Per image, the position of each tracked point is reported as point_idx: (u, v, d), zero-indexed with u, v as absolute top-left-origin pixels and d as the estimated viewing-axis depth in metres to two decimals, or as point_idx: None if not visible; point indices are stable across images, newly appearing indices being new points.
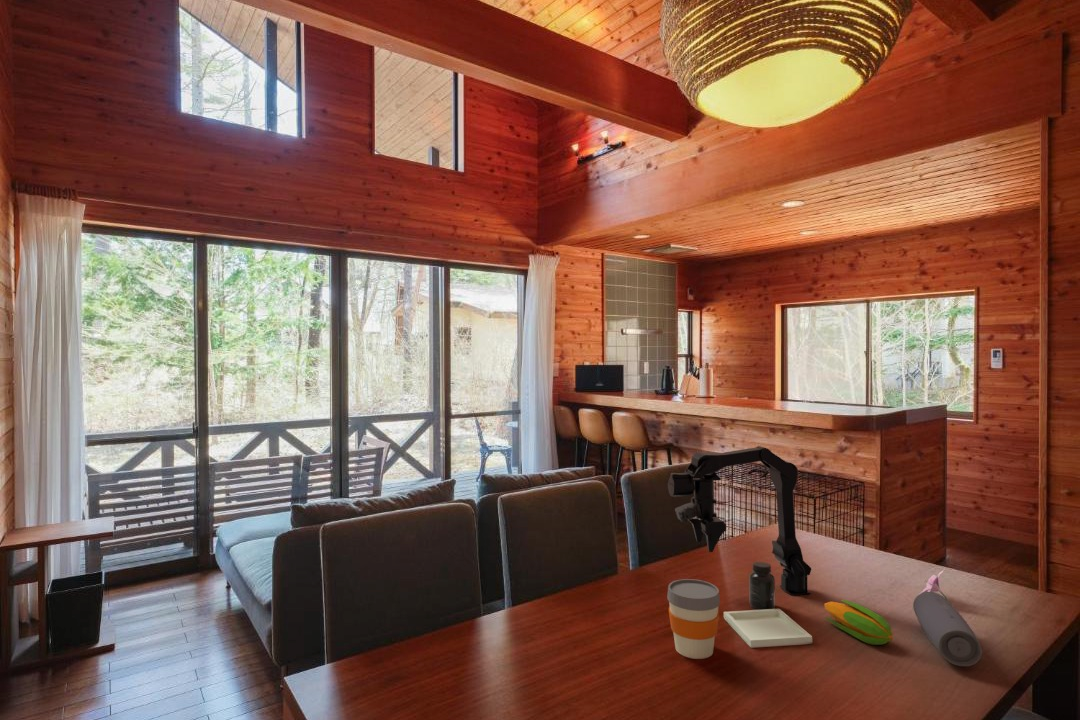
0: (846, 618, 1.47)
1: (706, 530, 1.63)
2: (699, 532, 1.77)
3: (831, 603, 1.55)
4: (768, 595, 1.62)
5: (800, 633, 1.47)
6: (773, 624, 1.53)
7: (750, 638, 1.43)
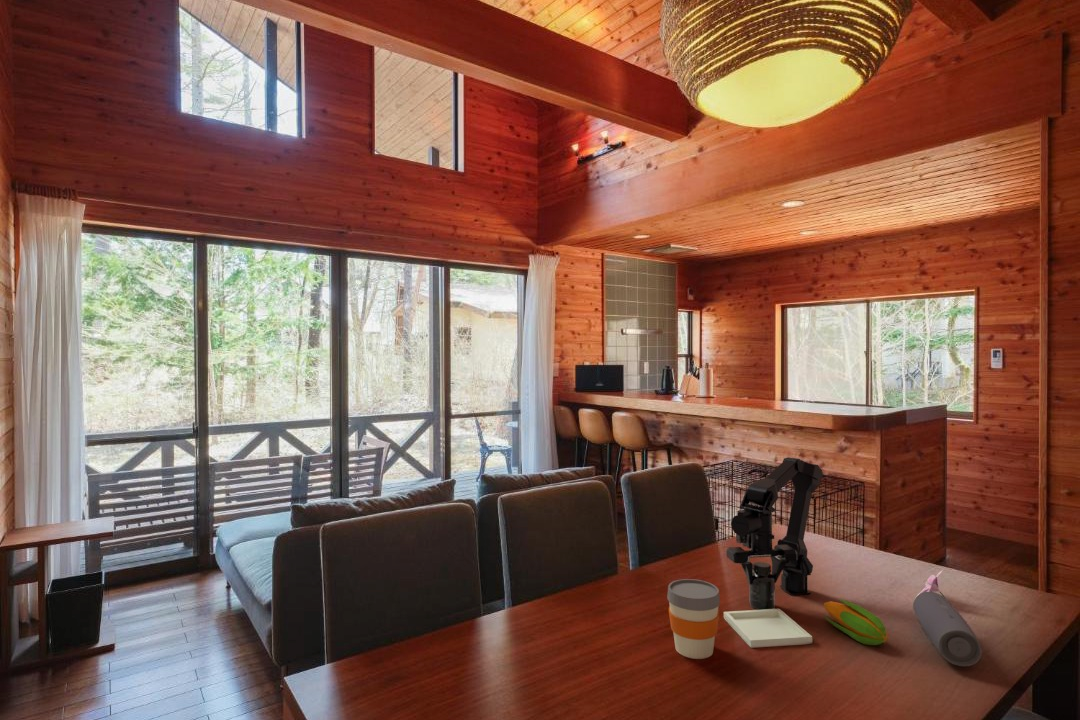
0: (842, 618, 1.47)
1: None
2: (773, 572, 1.65)
3: (830, 603, 1.55)
4: (768, 595, 1.62)
5: (800, 633, 1.47)
6: (773, 624, 1.53)
7: (750, 638, 1.43)
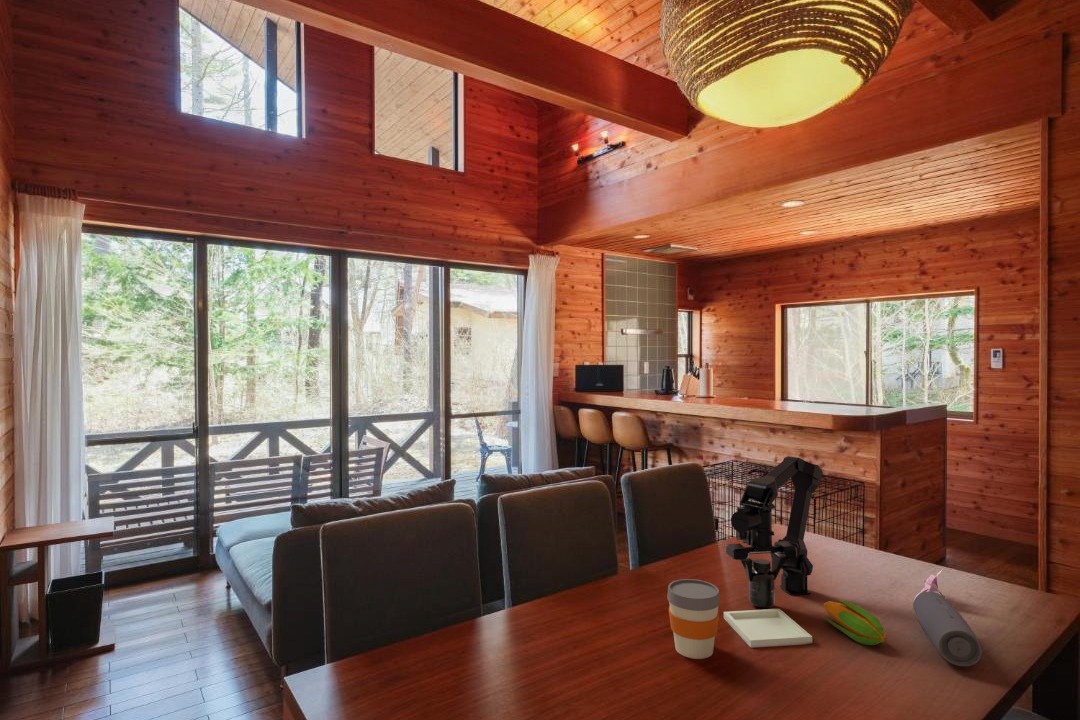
0: (841, 617, 1.48)
1: None
2: (773, 569, 1.65)
3: (829, 603, 1.55)
4: (767, 591, 1.62)
5: (800, 633, 1.47)
6: (773, 624, 1.53)
7: (750, 638, 1.43)
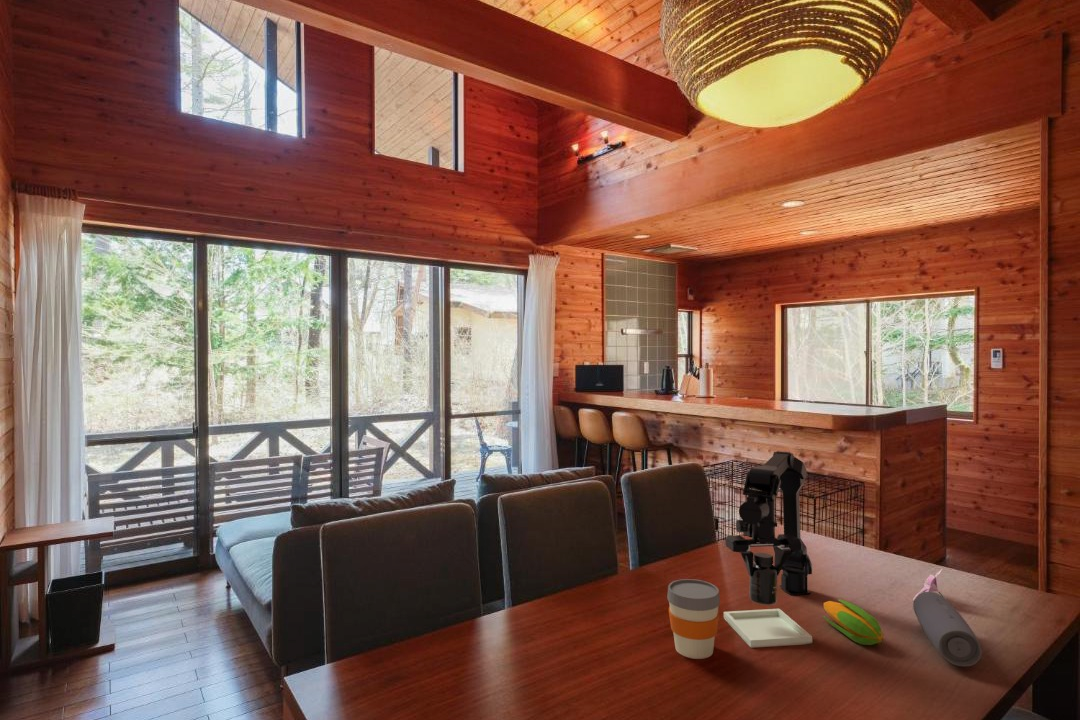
0: (839, 617, 1.48)
1: None
2: (776, 564, 1.53)
3: (829, 602, 1.55)
4: (769, 587, 1.49)
5: (800, 633, 1.47)
6: (773, 624, 1.53)
7: (750, 638, 1.43)
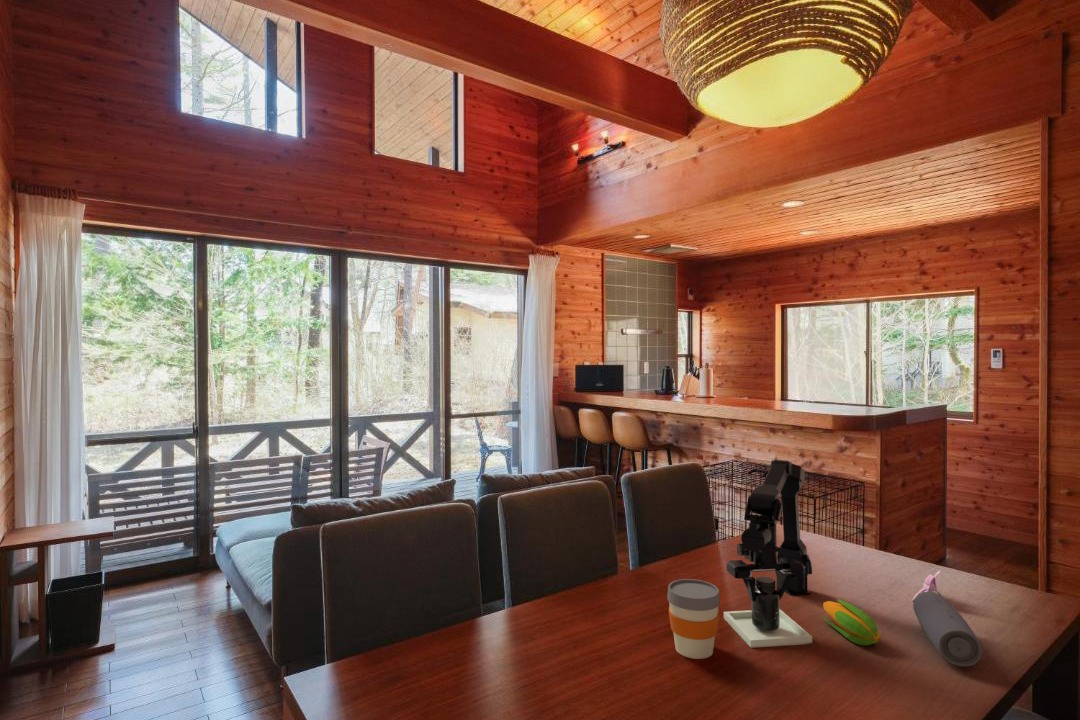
0: (837, 617, 1.48)
1: None
2: (778, 588, 1.51)
3: (828, 602, 1.56)
4: (772, 613, 1.47)
5: (800, 633, 1.47)
6: None
7: (750, 638, 1.43)
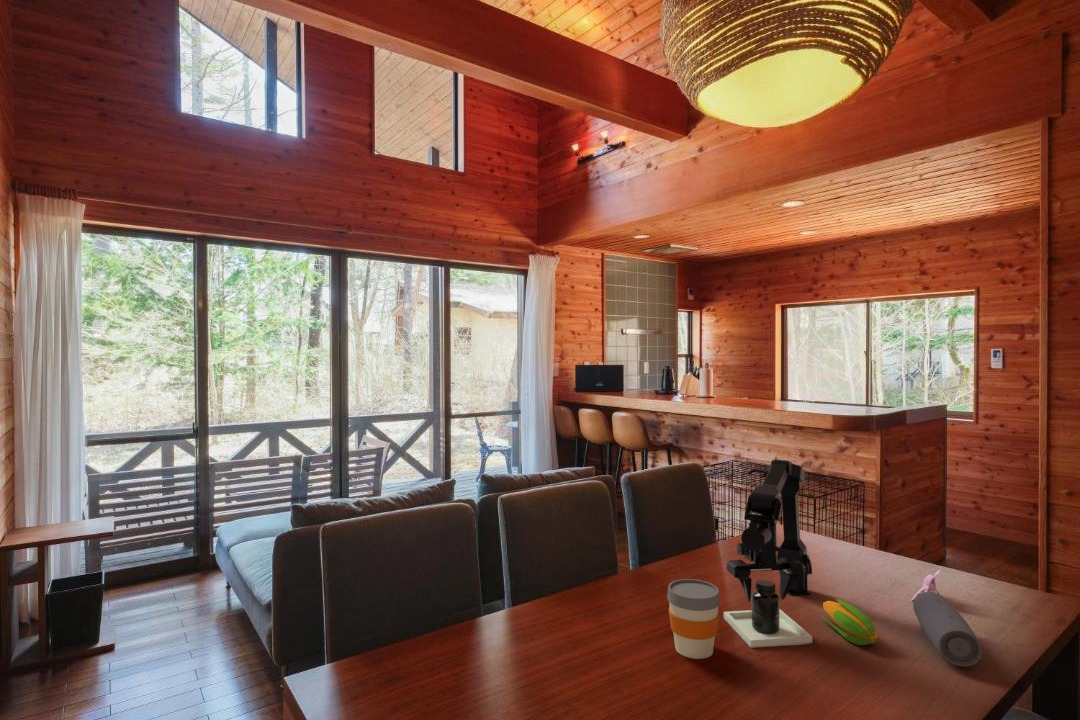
0: (835, 616, 1.48)
1: None
2: (782, 588, 1.51)
3: (828, 602, 1.56)
4: (772, 616, 1.47)
5: (800, 633, 1.47)
6: None
7: (750, 638, 1.43)
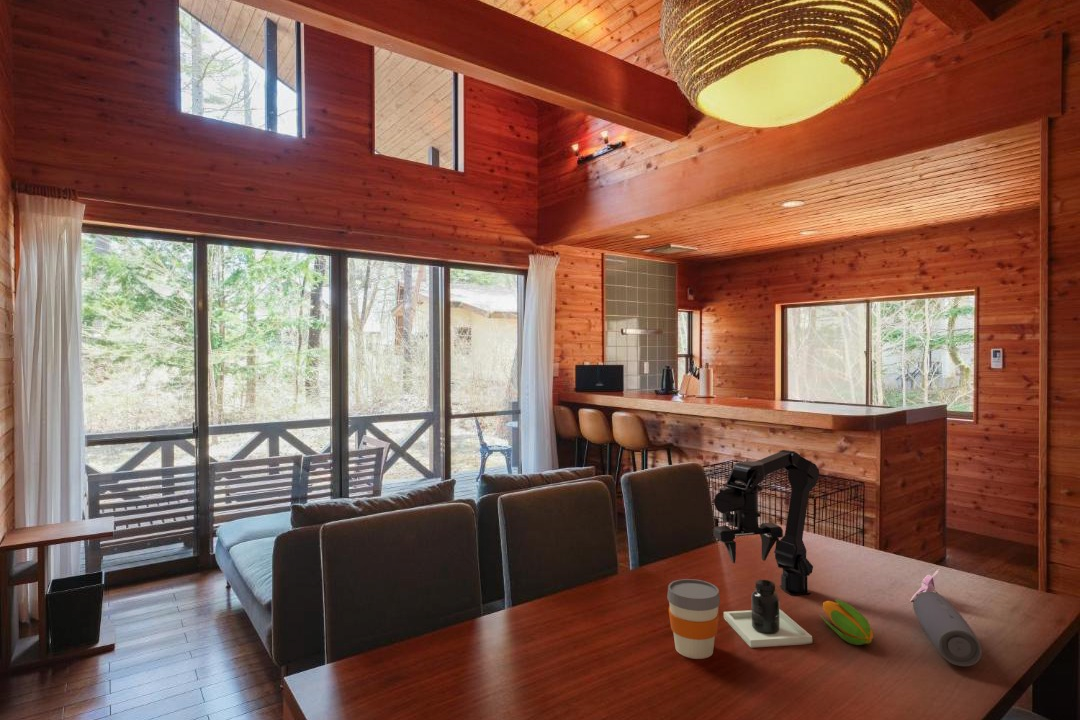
0: (832, 616, 1.48)
1: None
2: (763, 550, 1.66)
3: (827, 602, 1.56)
4: (772, 616, 1.47)
5: (800, 633, 1.47)
6: None
7: (750, 638, 1.43)
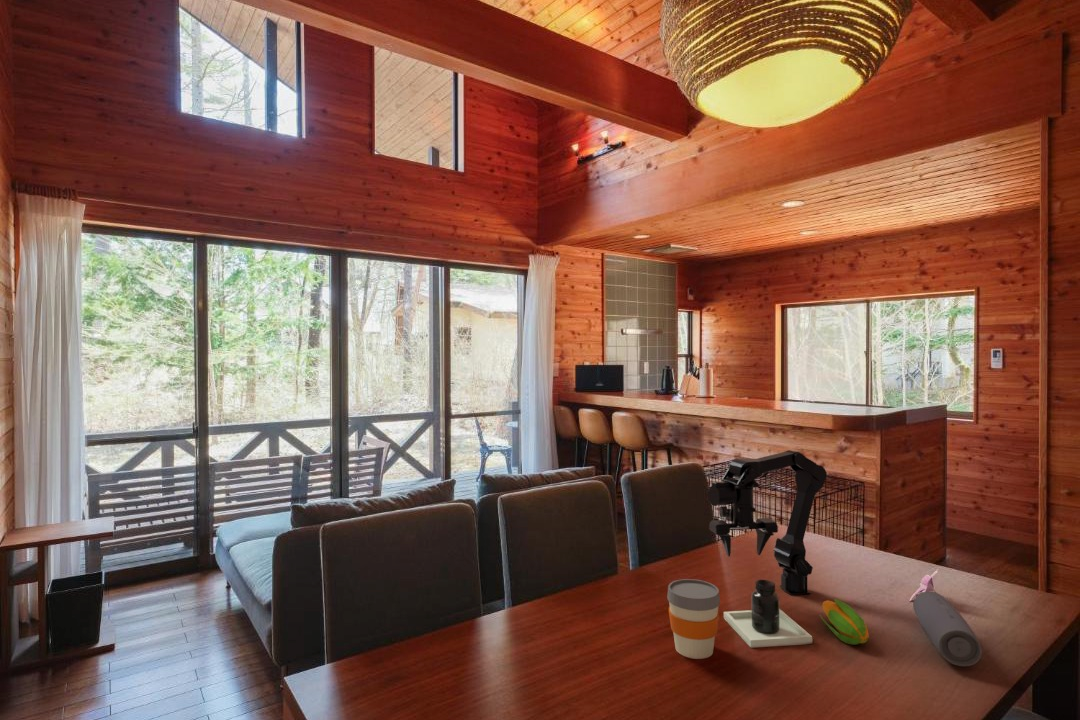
0: (829, 615, 1.49)
1: None
2: (758, 545, 1.70)
3: (826, 602, 1.56)
4: (772, 616, 1.47)
5: (800, 633, 1.47)
6: None
7: (750, 638, 1.43)
